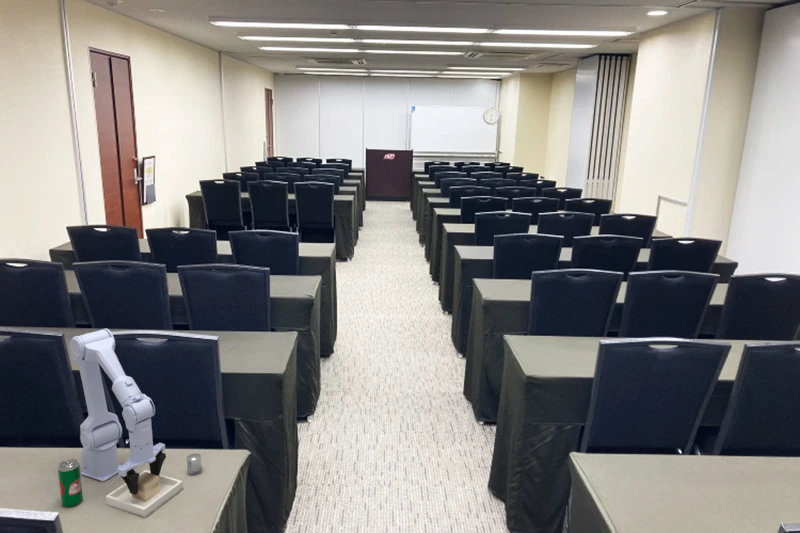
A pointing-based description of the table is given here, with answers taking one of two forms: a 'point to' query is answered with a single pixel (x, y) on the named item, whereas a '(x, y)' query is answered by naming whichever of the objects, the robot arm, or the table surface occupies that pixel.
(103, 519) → the table surface
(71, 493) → the soda can
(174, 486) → the tray
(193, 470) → the metal canister
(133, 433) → the robot arm
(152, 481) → the birch block
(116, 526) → the table surface
